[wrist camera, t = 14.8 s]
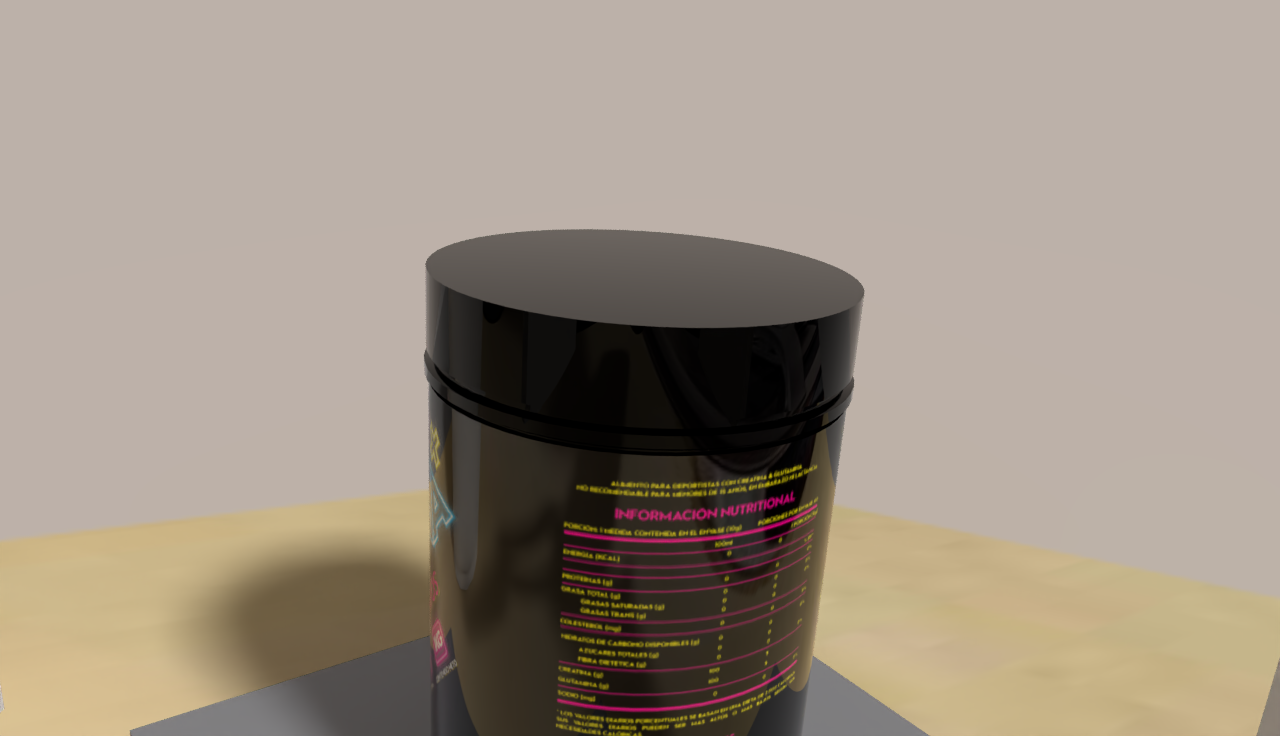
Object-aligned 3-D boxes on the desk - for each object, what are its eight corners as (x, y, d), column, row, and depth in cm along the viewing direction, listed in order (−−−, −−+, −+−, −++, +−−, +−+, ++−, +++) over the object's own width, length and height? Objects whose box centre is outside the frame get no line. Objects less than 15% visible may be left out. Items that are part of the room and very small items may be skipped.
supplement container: (661, 664, 23) (696, 222, 20) (868, 866, 17) (964, 302, 14) (378, 758, 19) (363, 237, 16) (527, 1048, 14) (551, 352, 11)
